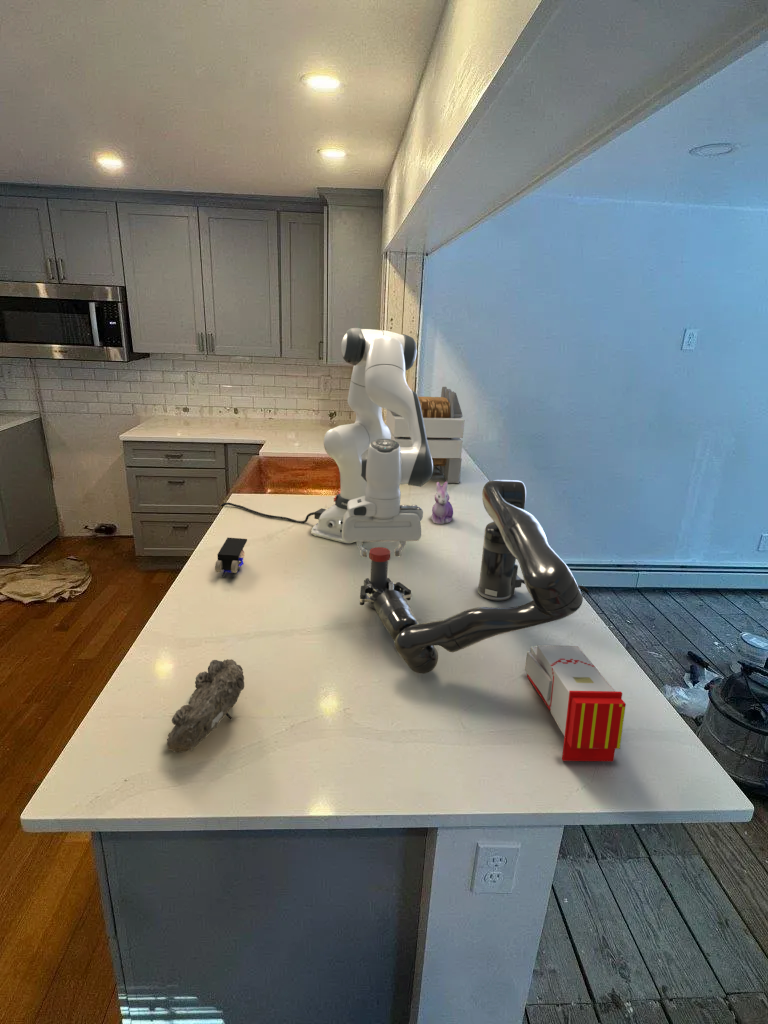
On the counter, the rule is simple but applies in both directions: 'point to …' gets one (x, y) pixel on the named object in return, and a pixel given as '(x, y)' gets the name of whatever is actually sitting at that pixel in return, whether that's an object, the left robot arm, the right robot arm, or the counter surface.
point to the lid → (379, 554)
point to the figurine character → (230, 556)
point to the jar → (378, 575)
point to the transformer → (436, 432)
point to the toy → (578, 701)
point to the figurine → (442, 505)
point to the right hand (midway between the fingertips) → (375, 580)
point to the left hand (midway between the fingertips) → (380, 555)
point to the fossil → (206, 705)
